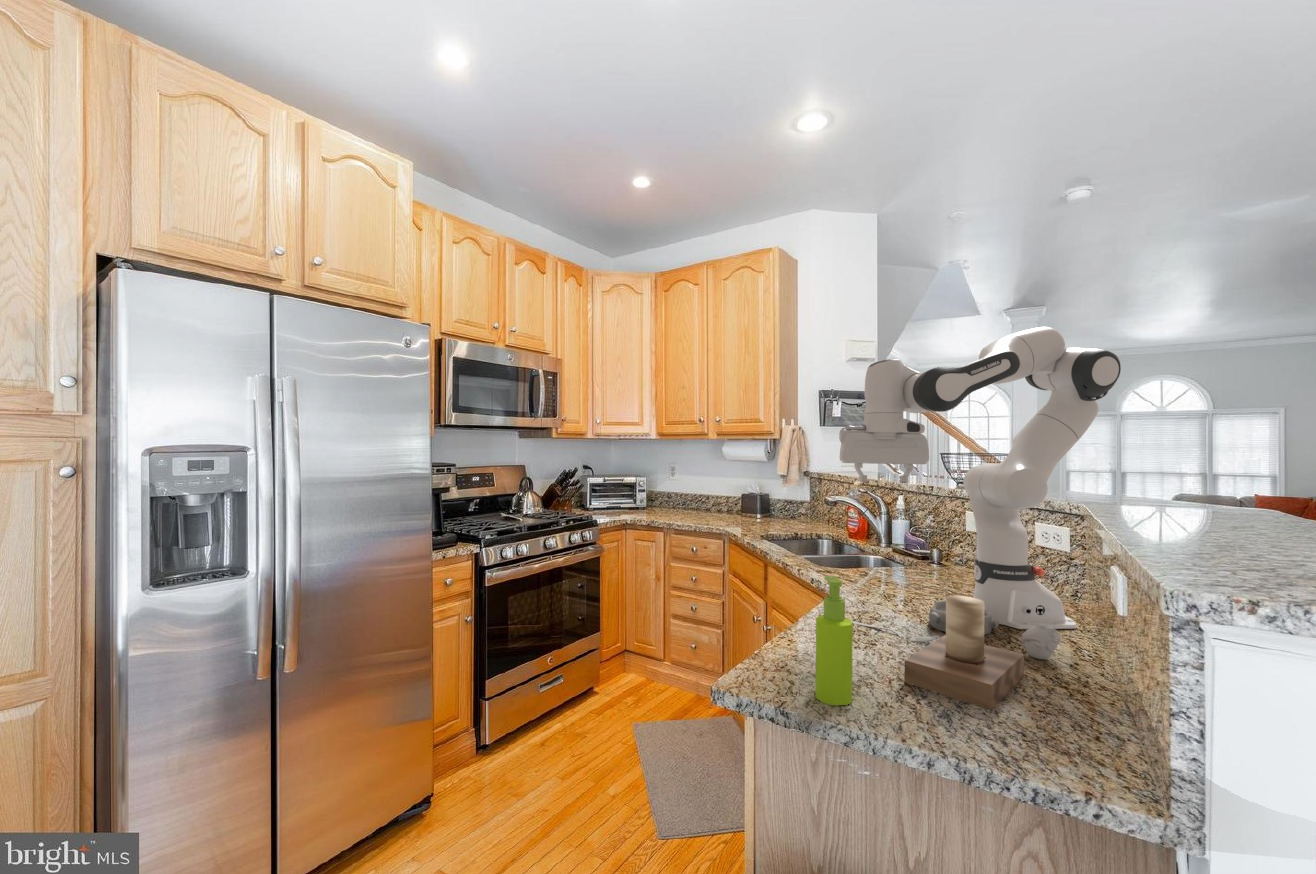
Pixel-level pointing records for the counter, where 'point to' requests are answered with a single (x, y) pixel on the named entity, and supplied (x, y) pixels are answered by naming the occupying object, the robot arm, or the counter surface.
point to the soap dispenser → (834, 649)
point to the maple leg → (965, 629)
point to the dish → (939, 618)
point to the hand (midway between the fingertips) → (883, 482)
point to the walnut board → (965, 674)
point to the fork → (896, 632)
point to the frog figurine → (1041, 641)
